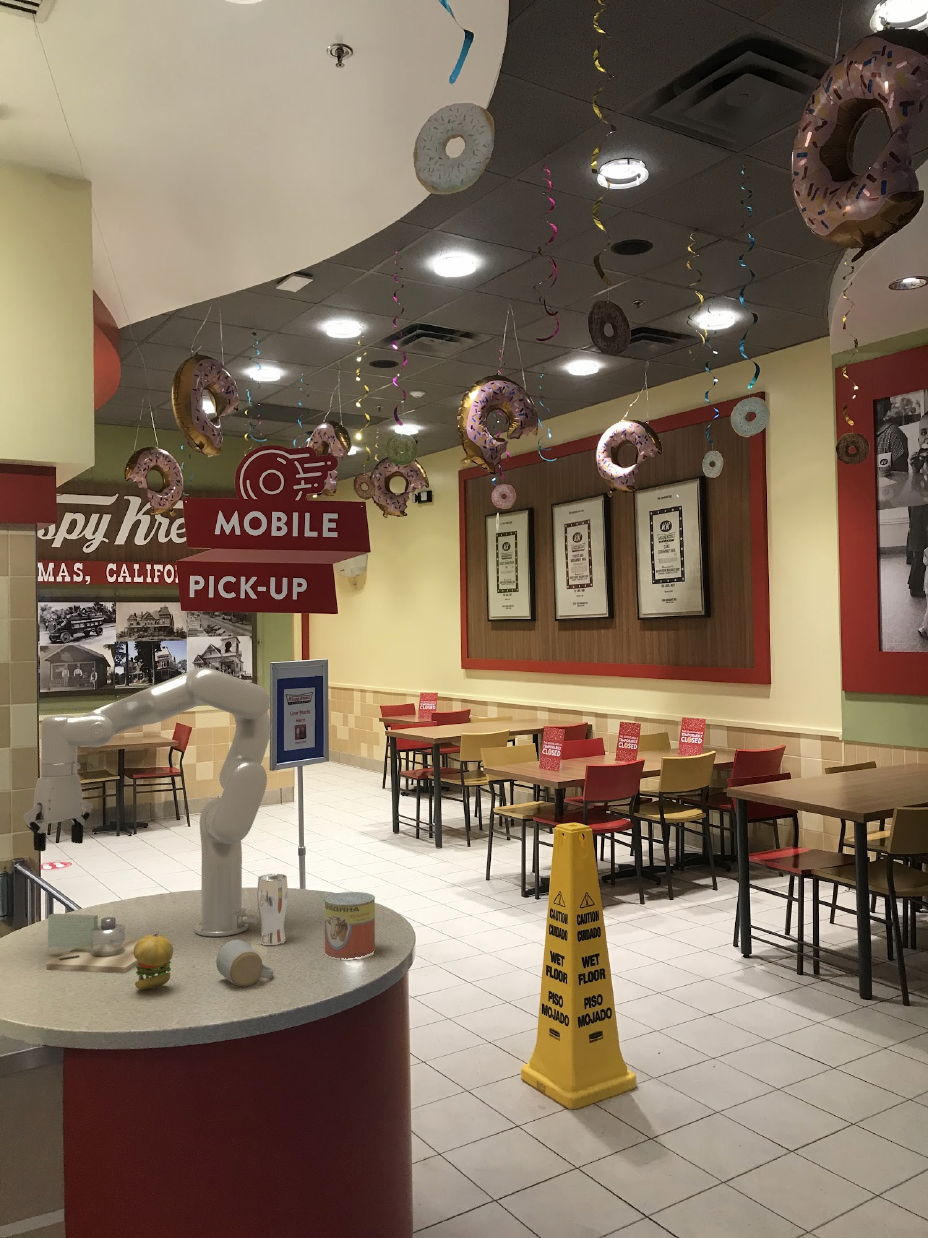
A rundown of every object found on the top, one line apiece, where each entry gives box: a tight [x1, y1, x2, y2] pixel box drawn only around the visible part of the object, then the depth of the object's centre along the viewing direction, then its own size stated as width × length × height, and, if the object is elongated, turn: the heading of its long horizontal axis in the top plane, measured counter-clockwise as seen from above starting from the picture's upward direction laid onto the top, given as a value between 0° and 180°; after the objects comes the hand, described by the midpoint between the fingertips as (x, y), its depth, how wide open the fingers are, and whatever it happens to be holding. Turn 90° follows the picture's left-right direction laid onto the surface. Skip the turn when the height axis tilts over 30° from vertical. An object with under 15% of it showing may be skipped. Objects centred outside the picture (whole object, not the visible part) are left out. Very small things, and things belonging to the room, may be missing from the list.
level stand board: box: [46, 939, 139, 974], centre depth 209 cm, size 18×18×2 cm
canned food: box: [323, 891, 376, 959], centre depth 212 cm, size 11×11×12 cm
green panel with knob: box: [47, 913, 126, 956], centre depth 210 cm, size 18×7×8 cm, turn 81°
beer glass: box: [256, 873, 289, 946], centre depth 220 cm, size 7×7×15 cm
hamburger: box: [133, 931, 174, 991], centre depth 189 cm, size 8×7×12 cm
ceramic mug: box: [215, 939, 274, 988], centre depth 194 cm, size 11×8×8 cm
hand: (58, 846), depth 214 cm, fingers open, 9 cm apart
